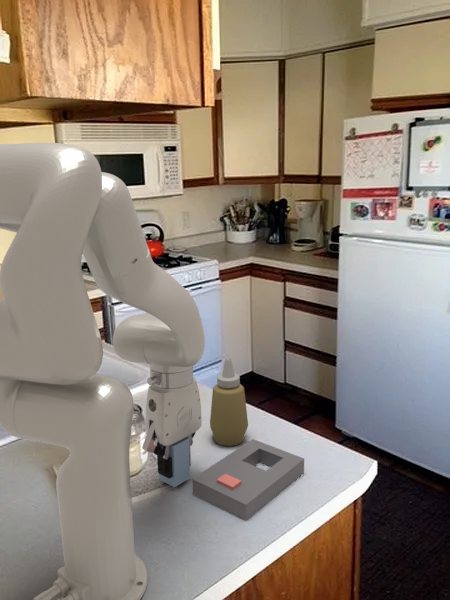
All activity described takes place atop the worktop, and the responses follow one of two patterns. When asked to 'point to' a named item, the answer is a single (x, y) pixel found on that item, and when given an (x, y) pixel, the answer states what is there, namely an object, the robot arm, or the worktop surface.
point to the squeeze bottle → (228, 408)
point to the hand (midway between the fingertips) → (174, 469)
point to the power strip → (248, 478)
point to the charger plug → (178, 463)
